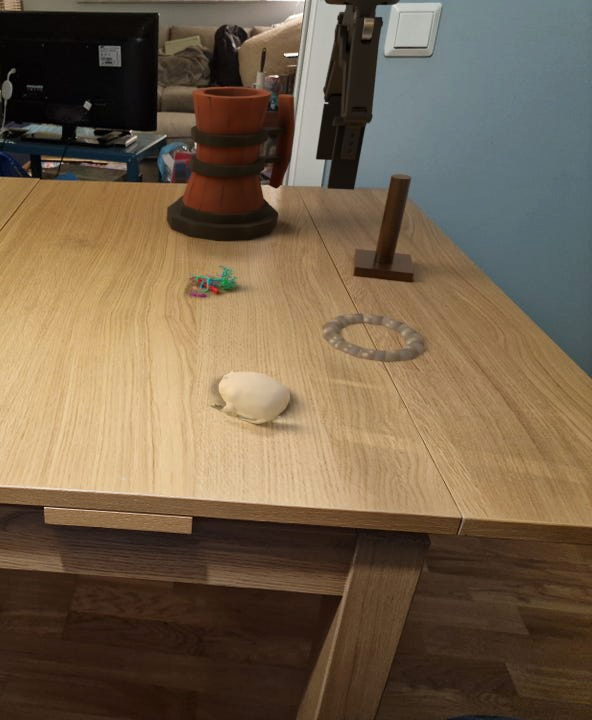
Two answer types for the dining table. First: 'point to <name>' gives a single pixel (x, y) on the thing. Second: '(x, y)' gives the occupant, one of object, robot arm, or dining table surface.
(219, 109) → the tankard
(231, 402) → the garlic
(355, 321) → the bracelet
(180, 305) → the dining table surface
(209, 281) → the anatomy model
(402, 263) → the stand
